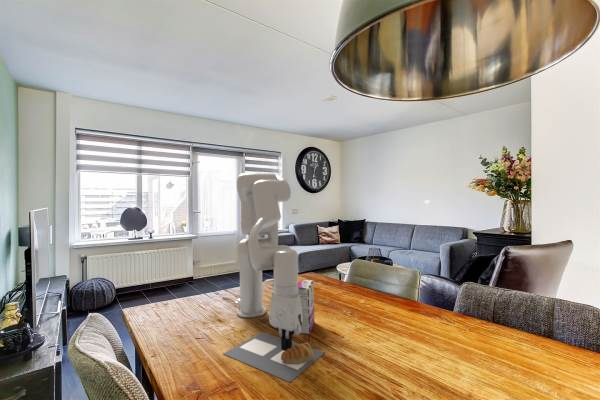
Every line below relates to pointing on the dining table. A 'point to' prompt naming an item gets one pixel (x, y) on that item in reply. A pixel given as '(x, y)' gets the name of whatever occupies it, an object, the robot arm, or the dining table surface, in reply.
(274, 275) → the robot arm
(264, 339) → the label mat
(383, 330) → the dining table surface
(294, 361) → the pastry
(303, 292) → the candy bar box
